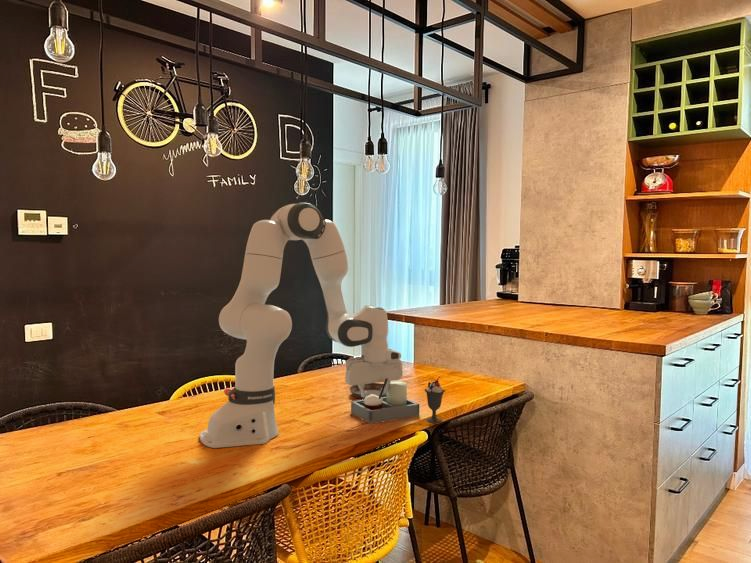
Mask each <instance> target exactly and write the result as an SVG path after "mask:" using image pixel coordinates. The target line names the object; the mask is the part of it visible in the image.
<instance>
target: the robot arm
mask: <svg viewBox="0 0 751 563" xmlns="http://www.w3.org/2000/svg"><path fill="white" fill-rule="evenodd" d="M299 240H301V241H303V242H304V243H305V244H306V246H307V249H308V250H309V255H310V259H311V262H312V265H313V267H314V268H313V269H314V271H315V274H316V276H317V279H318V281H319V284H320V288H321V291H322V292H321V293H322V296H323V300H324V305H325V309H326V317H327V318H326V323H325V331H326V334H327V337H329V339H331V340H332V341H333V342H335V343H339V344H340V345H343V346H345V347H348V348H349V347H350V348H353V347H358V346H361V347H360V348H361V349H360V355H356V356H350V357H349V358H348V359H347V360H346V362H345V368H346V370H345V379H344V380H345V383H346V384H347V385H348V386H350V387H351V386H354V385H358V387H359V389H360V391H361V397H367V392H366V391H364V389H363V387H365V384H370V383H384V382H385V379H386V378H388V380H387V383H386V385H385V388H384V391H383V395H384V394H387V389H388V387H389V385H390V382H394V381H399V380H401V379H402V378H403V375H404V374H403V372H404V371H403V362H402V360H401V358H402V354H401V352H399V351H396V350H393V349H390V348H389V344H388V339H387V338H388V335H389V320H388V313H387V311H386V309H384V308H383V307H380V306H377V305H376V306H375V305H371V304H370V305H369V304H367V305H364V306H363V307H362V308H361V309H359V310H358V311H356V312H354V313H353V314H349V312H348V311H347V308H346V305H345V300H344V295H343V291H342V282H343V280H344V278H345V277H346V275H347V274H348V270H349V265H348V262H349V261H348V255H347V252H346V248H345V245H344V242H343V239H342V236H341V234H340V232H339V230H338V227H337V226H336V224H335V222H333V221H332V220H330V219H325V217H324V216H323V215H322V212H320V210H319V209H318V208H317V207H316V206H315V205H313V204H311V203H309V202H299V203H298V202H297V203H290V204H286V205H284V206H281V207H279V208H277V209H276V210H274V211H273V212H272V213H271V215H270V217H269V218H268V219H262V220H258V221H256V222H254V223H253V225H252V227H251V230H250V232H249V236H248V238H247V243H246V247H245V251H244V252H245V253H244V258H243V264H242V265H243V266H242V270H241V278H240V281H239V284H238V286H237V289H236V290H235V293H234V295H233V297H232V299H231V300H230V301H229V302H228V303H227V304H226V305H225V306H224V307H223V308H222V309H220V312H219V316H218V324H219V327H220V330H222V331H223V332H224V333H225V334H227V335H228V336H231V337H233V338H236V339H241V340H246V346H245V350H244V352H243V354H242V355H240V356H239V357H238V358H237V359H236V361H235V369H234V371H235V375H234V380H235V381H234V382H235V384H234V387H233V388H231V389H230V388H229V387H225V388H224V390H223V393H224V395H225V396H227V397H228V401H227V402H225V403H224V404H223V405H221V406H220V407H219V408H218V409H217V410H216V411H215V412H213V413H212V414H211V415H210V417H209V420H208V423H207V429H205V430H202V431H201V432H200V434H199V441H200V442H201V443H202V445H204V446H205V447H209V448H213V449H217V448H218V449H219V448H220V449H221V448H229V447H230V448H231V447H241V446H252V445H261V444H263V445H264V444H266V443H268V442H270V440H271V439H274V438H276V437H277V436H278V435H279V432H280V431H279V428H278V425H277V420H276V415H275V414H276V413H275V403H276V402H275V401H276V389H275V388H276V387H275V386H274V370H275V359H276V355H277V352H278V350H279V347H280V346H281V344H282V343H283V342H284V341H285V340H287V339H288V337H289V336H290V333H291V331H292V328H293V321H292V317H291V315H290V313H289V312H288V311H287V310H286V309H285V310H284V309H283V308H282V307H281V308H280V307H279V306H275V305H273V304H266V302H267V299H268V297H269V295H270V294H271V293H272V292H273V291H274V290H276V289H277V288H278V286H279V284H280V281H281V280H280V279H281V273H282V268H283V267H282V264H283V260H284V259H283V258H284V250H285V247H286V244H287V243H288V241H299ZM381 390H382V388H381Z"/></svg>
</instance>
